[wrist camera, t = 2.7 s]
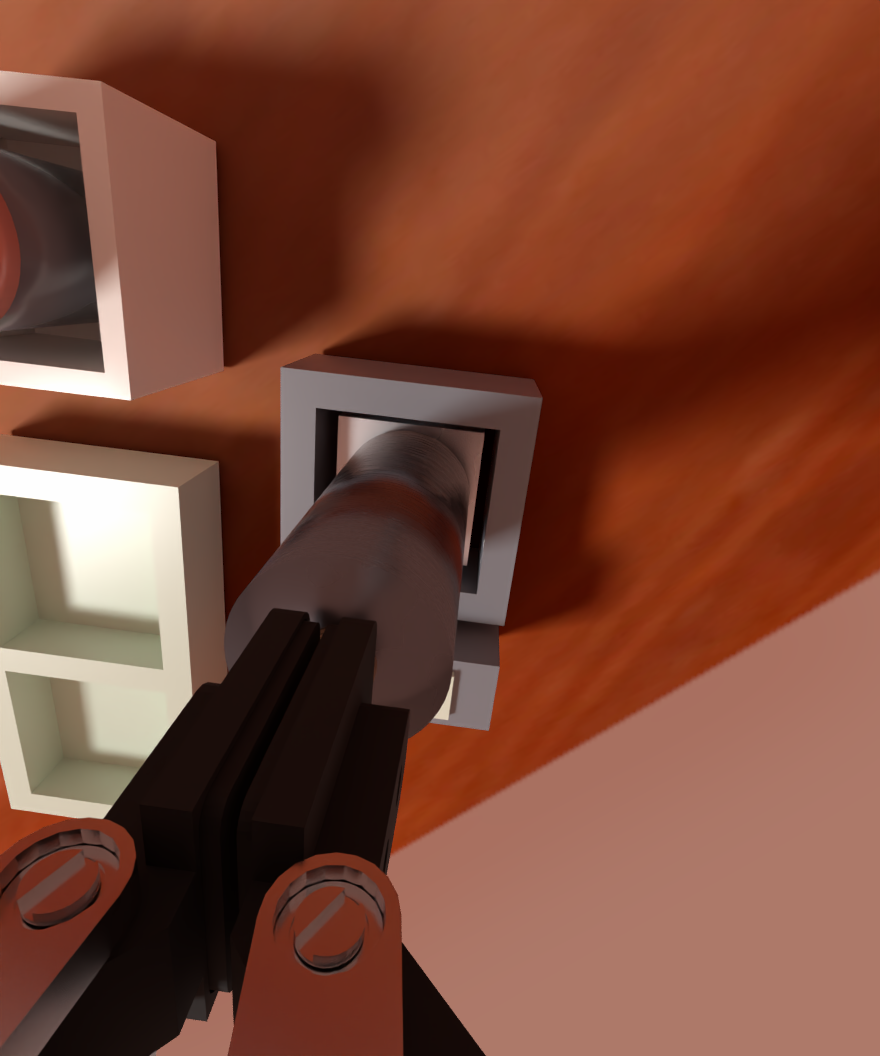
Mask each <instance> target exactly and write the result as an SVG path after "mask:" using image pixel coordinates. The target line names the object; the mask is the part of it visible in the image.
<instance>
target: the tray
mask: <svg viewBox="0 0 880 1056" xmlns="http://www.w3.org/2000/svg"><path fill="white" fill-rule="evenodd" d="M224 633H225V603H224V578H223V554H222V529H221V504H220V479H219V461H213V460H205V459H197V458H189V457H181V456H173V455H165V454H157V453H149V452H141V451H133V450H125V449H116V448H108V447H100V446H92V445H84V444H76V443H68V442H60V441H52V440H44V439H36V438H28V437H20V436H11V435H3V434H1V435H0V762H1V766H2V770H3V775H4V779H5V783H6V787H7V792H8V796H9V800H10V805H11V809H18V810H25V811H32V812H39V813H46V814H53V815H60V816H67V817H73V818H88V817H91V818H98V819H103V818H104V817H105V816H106V814H107V813H108V811H109V810H110V809H111V807H112V806H113V805H114V803H115V802H116V800H117V799H118V798H119V796H120V795H121V794H122V792H123V791H124V789H125V788H126V787H127V785H128V784H129V783H130V781H131V780H132V778H133V777H134V776H135V774H136V773H137V772H138V770H139V769H140V767H141V766H142V765H143V763H144V762H145V761H146V759H147V758H148V756H149V755H150V754H151V752H152V751H153V750H154V748H155V747H156V745H157V744H158V743H159V741H160V740H161V739H162V737H163V736H164V734H165V733H166V732H167V730H168V729H169V728H170V726H171V725H172V723H173V722H174V721H175V719H176V718H177V717H178V715H179V714H180V713H181V711H182V710H183V708H184V707H185V706H186V704H187V703H188V702H189V700H190V699H191V697H192V696H193V695H194V693H195V692H196V691H197V689H198V688H199V687H200V686H201V685H202V684H204V683H207V682H212V683H219V684H221V683H222V681H223V680H224V678H225V677H226V675H227V663H226V660H225V651H224Z"/></svg>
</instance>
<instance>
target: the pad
mask: <svg viewBox="0 0 880 1056" xmlns="http://www.w3.org/2000/svg"><path fill="white" fill-rule="evenodd" d="M392 431H413V432H419V433H422V434H425V435H428V436H430V437H432V438H434V439H436V440H438V441H439V442H441V443H443V444H444V445H445V446H446V447H447V448H449V449H450V450H451V451H452V452H453V454H454V455H455V456H456V457H457V459H458V460H459V461H460V463H461V465H462V467H463V469H464V471H465V473H466V476H467V480H468V484H469V507H468V517H467V527H466V537H465V548H464V558H463V565H465V566H467V561H468V554H469V546H470V539H471V531H472V524H473V516H474V509H475V502H476V494H477V487H478V479H479V472H480V464H481V457H482V450H483V442H484V435H485V428H479V427H471V426H463V425H454V424H446V423H438V422H430V421H421V420H413V419H405V418H396V417H388V416H380V415H371V414H363V413H355V412H346V411H344V412H342V413H341V414H340V415H339V420H338V446H337V472H336V476H337V474H338V473H339V472H340V471H341V469H342V468H343V467H344V466H345V464H346V463H347V462H348V461H349V460H350V458H351V457H352V456H353V455H354V453H355V452H356V451H357V450H358V449H359V448H360V447H361V446H362V445H363V444H364V443H366V442H367V441H369V440H370V439H372V438H374V437H376V436H378V435H381V434H384V433H387V432H392Z"/></svg>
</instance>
